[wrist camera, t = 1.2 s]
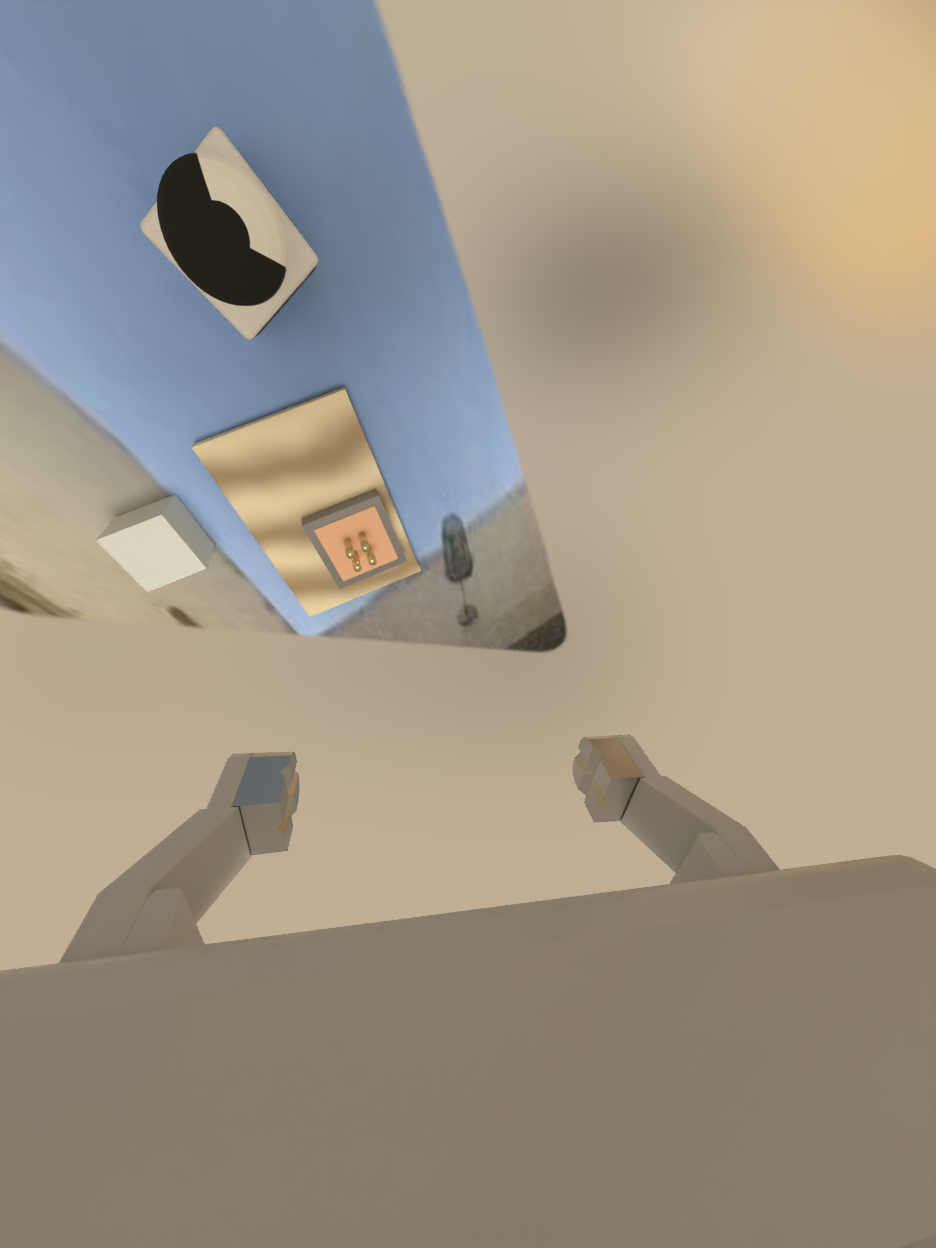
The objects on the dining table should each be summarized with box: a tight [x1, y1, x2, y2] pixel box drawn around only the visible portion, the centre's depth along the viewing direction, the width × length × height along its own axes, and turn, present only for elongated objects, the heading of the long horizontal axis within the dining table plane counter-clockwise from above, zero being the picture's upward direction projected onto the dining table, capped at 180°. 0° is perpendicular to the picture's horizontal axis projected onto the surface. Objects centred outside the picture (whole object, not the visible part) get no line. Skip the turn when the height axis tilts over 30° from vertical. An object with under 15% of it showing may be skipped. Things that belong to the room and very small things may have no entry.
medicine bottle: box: [140, 127, 318, 340], centre depth 26 cm, size 7×7×12 cm
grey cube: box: [96, 494, 214, 592], centre depth 38 cm, size 6×6×5 cm
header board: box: [192, 387, 421, 617], centre depth 41 cm, size 20×14×7 cm
